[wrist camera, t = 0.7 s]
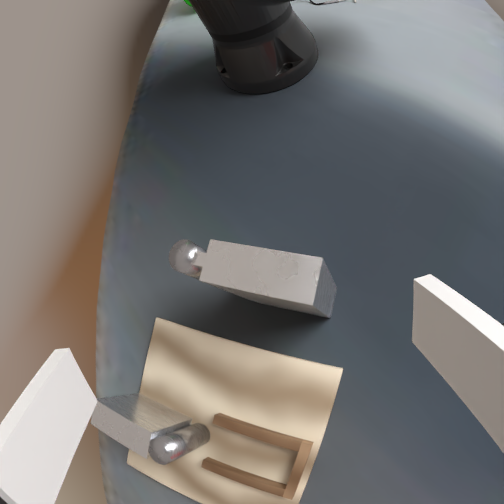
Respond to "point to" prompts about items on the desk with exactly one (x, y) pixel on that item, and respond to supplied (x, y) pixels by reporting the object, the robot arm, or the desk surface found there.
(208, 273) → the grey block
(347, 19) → the desk surface
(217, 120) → the desk surface
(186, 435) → the fixed leaf
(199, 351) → the hinge base
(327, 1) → the multimeter
